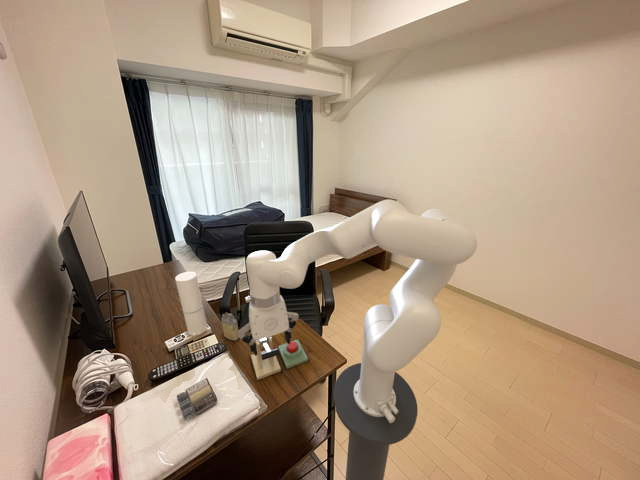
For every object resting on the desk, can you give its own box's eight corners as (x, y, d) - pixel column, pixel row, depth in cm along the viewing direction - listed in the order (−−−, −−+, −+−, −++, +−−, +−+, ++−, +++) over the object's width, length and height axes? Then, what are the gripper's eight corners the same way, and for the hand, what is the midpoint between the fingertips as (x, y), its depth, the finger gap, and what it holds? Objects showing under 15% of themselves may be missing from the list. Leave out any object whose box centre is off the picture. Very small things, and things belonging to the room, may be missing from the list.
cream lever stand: (281, 371, 85) (279, 344, 81) (257, 380, 82) (253, 352, 77) (272, 350, 93) (270, 324, 89) (251, 357, 90) (247, 331, 86)
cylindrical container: (208, 322, 107) (198, 270, 98) (204, 334, 101) (193, 280, 91) (190, 324, 106) (178, 272, 97) (185, 336, 100) (172, 282, 90)
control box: (308, 360, 89) (308, 354, 88) (286, 369, 86) (286, 362, 85) (298, 341, 97) (297, 335, 96) (278, 348, 94) (277, 342, 93)
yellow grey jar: (241, 336, 100) (238, 315, 96) (234, 342, 97) (230, 321, 93) (228, 330, 103) (225, 310, 99) (221, 336, 100) (217, 315, 96)
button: (298, 350, 90) (298, 347, 89) (289, 354, 88) (289, 350, 88) (295, 343, 93) (295, 340, 92) (286, 347, 91) (285, 343, 91)
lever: (279, 356, 75) (278, 348, 75) (263, 362, 73) (261, 354, 73) (270, 341, 86) (269, 334, 86) (255, 346, 84) (254, 339, 84)
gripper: (233, 314, 60) (243, 367, 66) (301, 295, 67) (304, 345, 73) (229, 297, 66) (239, 347, 73) (291, 282, 73) (295, 328, 79)
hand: (271, 346), depth 73 cm, fingers open, 9 cm apart
